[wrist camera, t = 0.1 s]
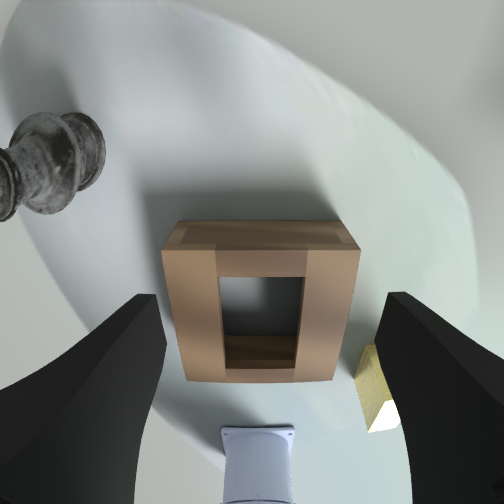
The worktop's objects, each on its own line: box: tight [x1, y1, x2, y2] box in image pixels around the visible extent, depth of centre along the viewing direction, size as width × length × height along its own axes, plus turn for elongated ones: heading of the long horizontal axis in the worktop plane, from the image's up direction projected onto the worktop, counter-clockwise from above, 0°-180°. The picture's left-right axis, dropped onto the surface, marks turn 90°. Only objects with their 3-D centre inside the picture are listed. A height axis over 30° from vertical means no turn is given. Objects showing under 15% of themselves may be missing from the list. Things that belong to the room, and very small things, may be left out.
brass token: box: [354, 344, 400, 432], centre depth 21 cm, size 4×2×6 cm, turn 0°
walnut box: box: [161, 220, 361, 383], centre depth 19 cm, size 10×10×4 cm
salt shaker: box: [0, 113, 106, 222], centre depth 11 cm, size 6×6×12 cm
